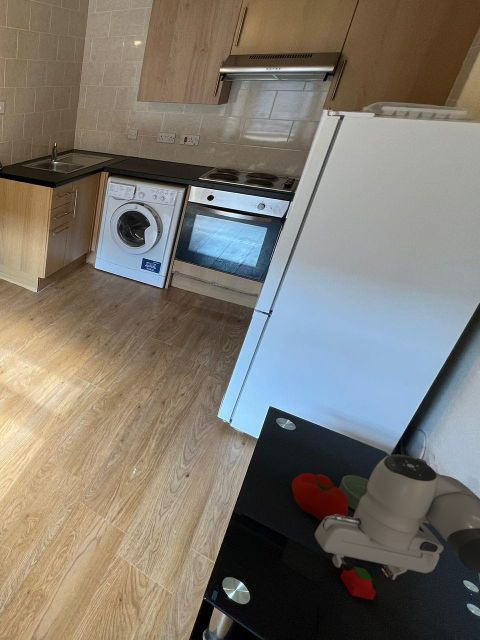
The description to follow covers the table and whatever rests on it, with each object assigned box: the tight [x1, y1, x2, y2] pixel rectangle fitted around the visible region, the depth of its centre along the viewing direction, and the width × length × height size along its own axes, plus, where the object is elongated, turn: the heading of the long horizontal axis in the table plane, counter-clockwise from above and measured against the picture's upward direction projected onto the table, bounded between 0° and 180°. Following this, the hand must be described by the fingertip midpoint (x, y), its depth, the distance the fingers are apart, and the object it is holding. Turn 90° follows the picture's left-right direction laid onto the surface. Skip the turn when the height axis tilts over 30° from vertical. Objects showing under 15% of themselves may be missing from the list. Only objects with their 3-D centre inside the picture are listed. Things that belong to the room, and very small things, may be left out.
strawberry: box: [340, 566, 377, 601], centre depth 91 cm, size 4×4×5 cm
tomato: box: [291, 472, 349, 522], centre depth 109 cm, size 11×12×9 cm
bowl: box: [338, 474, 369, 512], centre depth 112 cm, size 11×11×4 cm
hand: (362, 570), depth 90 cm, fingers open, 8 cm apart
